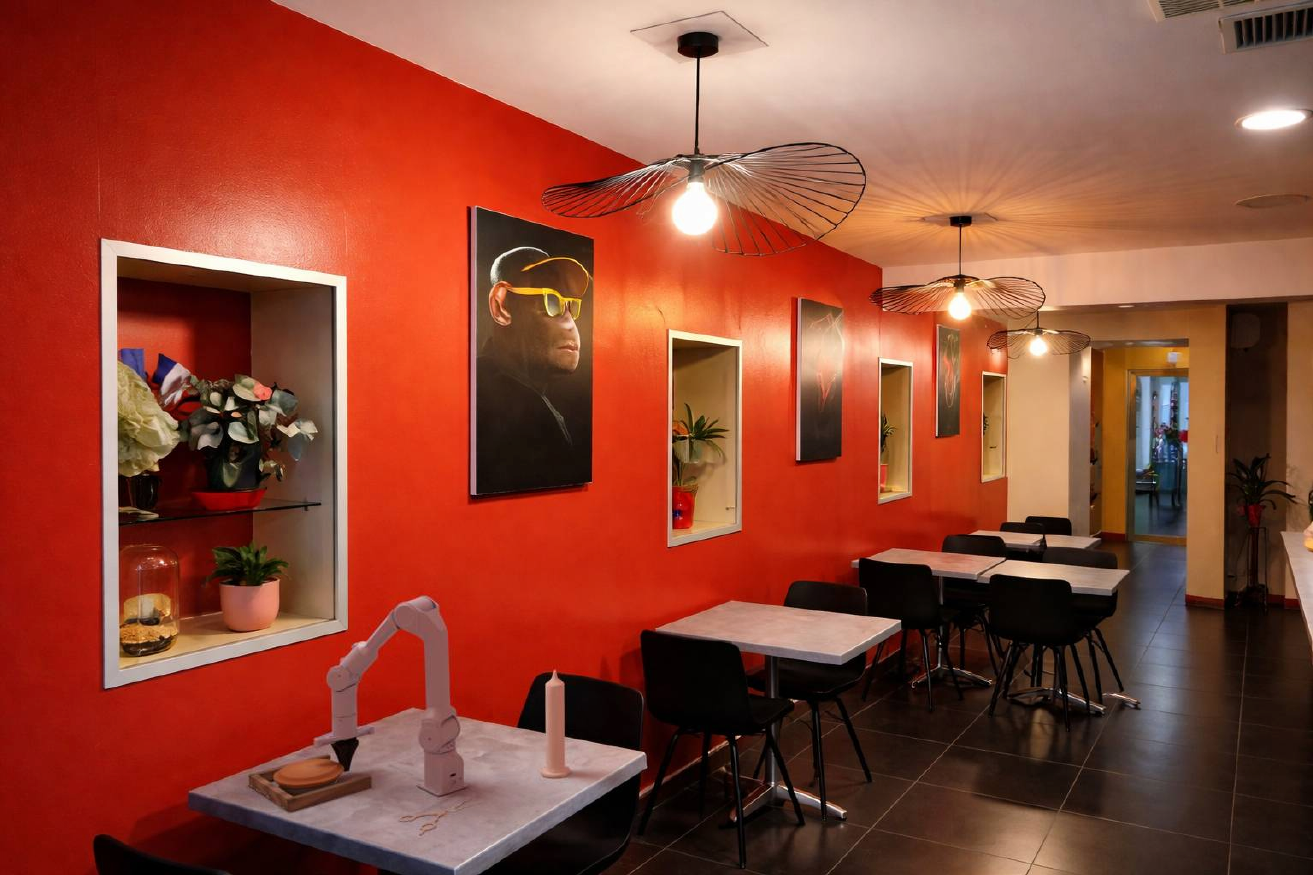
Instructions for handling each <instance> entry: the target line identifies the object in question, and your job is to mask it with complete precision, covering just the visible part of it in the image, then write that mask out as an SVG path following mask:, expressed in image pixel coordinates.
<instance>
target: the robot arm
mask: <svg viewBox="0 0 1313 875" xmlns="http://www.w3.org/2000/svg"><path fill="white" fill-rule="evenodd" d="M401 629H402V630H403V631H406V632H408V633H409V634H412V635H414V636H417V637H418V638H419V639H420V640H422V641H423V646H424V650H423V651H424V673H425V675H424V676H425V681H424V682H425V703H426V704H425V705H426V706H425V707H426V708H425V711H424V713H423V715H422V718H421V727H420V730H419V732H418V734H417V735H418V736H417V738H418V743H419V745H420V747H421V749H423V775H424V776H423V778H424V779H423V780H424V781H420V782H418V783H416V786H417V787H419V788H421V789H422V790H424V791H427V792H429V793H431V794H432V795H435V796H437V797H440V796H443V795H446V794H450V793H452V792H455V791H460V790H462V789H464V788H467V787H468V784H466V783H465V768H464V767H465V762H464V758H463V757H462V756H461V755H460V754H459V753H458V752H457V747H456V744H457V743H456V742H457V737H459V735H460V733H461V724H460V721H459V719H458V716H457V709H456V708H455V707H453V706H452V705H451V697H450V696H451V692H450V662H449V659H450V658H449V656H450V655H449V633H448V628H447V626H446V623H445V622H444V619H443V617H442V615H441V613H440V604H438V603H437V602H436V601H435V600H433V599H432V598H431V597H429V596H427V595H421V596H419V597H417V598H414V599H411V600H409V601H403V602H400V603H399V604H397V606H395V608H394V609H392V610H391V611H390V612H389V613H388V615H387V617H386V618H385V619H384V620H383V621H382V623H380V625H379V626H378V627H377V628H376V630H375V631H373V633H372V634H371V635H370V637H369V638H368V639H367V640H366V641H365V640H364V641H363V640H362V641H359V642H355V643H353V645H352V646H351V650H350V652H349V653H348V654H346V656H345V657H342V658H340V660H339V665H336V666H333V667H330V669H329V670H328V672H327V674H326V684H327V685H328V687H329V689H331V732H328V733H326V734H323V735H321V736H318V737H315V738H313V747H314V748H315V749H321V748H322V747H324V746H325V747H326V746H329V745H330V747H331V748H332V749H333V752H334V753H335V756H336V758H337V762H338V763H340V764H342V765H343V767H344V772H343V773H345V772H349V771H350V769H351V764H352V761H353V758H354V755H355V752H356V751H357V749H358V747H359V745H360V740H359V739H358V738H360V737H364V736H368V735H371V736H372V735H374V734H375V726H374V725H372V724H367V725H362V726H361V725H360V726H358V707H357V706H358V703H357V702H358V700H357V699H358V695H357V692H358V685H359V683H360V682H361V680H362V676H363V674H365V672H366V671H367V670H368V669H369V668H370V667H371V665H373V663H374V662H375V661H376V660H377V659H378V657H379V653H378V651H379V649H380V648H382V647H383V645H385V643H387V641H388V640H390V638H392V636H394V634H396V632H398V631H399V630H401Z"/></svg>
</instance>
